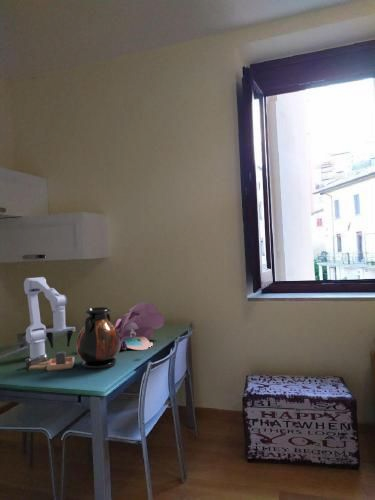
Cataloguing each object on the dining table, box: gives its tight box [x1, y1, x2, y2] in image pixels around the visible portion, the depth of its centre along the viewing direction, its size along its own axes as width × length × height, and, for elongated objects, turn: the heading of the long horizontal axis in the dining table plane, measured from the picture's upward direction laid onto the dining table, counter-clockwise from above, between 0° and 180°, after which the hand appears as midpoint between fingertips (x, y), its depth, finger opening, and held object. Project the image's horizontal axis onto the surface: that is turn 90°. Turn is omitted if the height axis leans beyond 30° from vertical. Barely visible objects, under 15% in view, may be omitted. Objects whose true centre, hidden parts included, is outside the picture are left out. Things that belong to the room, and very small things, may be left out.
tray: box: [45, 356, 75, 372], centre depth 174 cm, size 12×12×2 cm
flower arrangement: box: [115, 301, 165, 351], centre depth 206 cm, size 35×24×28 cm
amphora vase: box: [76, 306, 121, 371], centre depth 173 cm, size 22×22×28 cm
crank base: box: [27, 359, 50, 372], centre depth 175 cm, size 12×8×1 cm, turn 12°
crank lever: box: [24, 355, 48, 367], centre depth 177 cm, size 12×4×4 cm, turn 152°
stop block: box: [55, 350, 66, 365], centre depth 174 cm, size 4×4×6 cm
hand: (60, 346), depth 174 cm, fingers open, 7 cm apart
